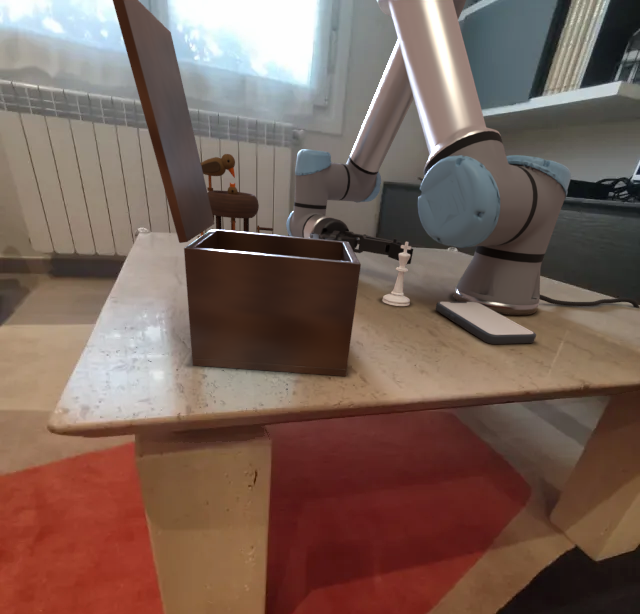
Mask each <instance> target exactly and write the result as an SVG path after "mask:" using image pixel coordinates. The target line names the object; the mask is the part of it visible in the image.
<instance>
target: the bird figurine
mask: <svg viewBox="0 0 640 614" xmlns="http://www.w3.org/2000/svg"><path fill="white" fill-rule="evenodd" d="M235 165H236V159H235V157H234V156H233V155H232V154H230V153H224V154H223V155H222V156H221V157H219V156H214V157H210V158H207V159H205V160H203V161H201V167H202V171H203V175H204V176H207V178H208V179H207V180H208V187H207V186H206V189H207V193H208V197H209V202H210V206H211V210H212V215H213V219H214V220H215V229H218V230H223V229H222V226H223V225H222V218H229V219H230V221H229V222H230V231H236V223H237V220H236V219H243V223H242V224H243V225H242V226H243V229H242V230H243V232H250V219H253V218H254V217H255V216H256V215H257V214H258V212H259V209H260V206H259V205H260V204H259V199H258V198H257V197H256V195H255V194H253V193H249V192H241V191H238V189H237V187H236V182H234V183H231V182H229V187H228V188H227V190H221V189H220V190H219V189H218V190H215V189H214V188H213V185H212V177H221V176H223V175H224V174H225V173H226V170H227V171H228V172H229V173H230V174H231V176H232V177H233V178H236V174H235V173H236V172H235ZM211 229H214V228H213V227H212V228H211ZM256 230H257V231H256V233H261V232H260V231H268V232H273V231H274V228H273V227H265V226H264V227H262V226H260V225H257V226H256ZM204 234H205V233H204V231H203V232H202V233H200V235H197V236H196V237H197V238H196V240H197V239H198V238H200V237H201V236H202V235H204Z"/></svg>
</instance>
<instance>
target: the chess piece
mask: <svg viewBox="0 0 640 614" xmlns="http://www.w3.org/2000/svg"><path fill="white" fill-rule="evenodd" d="M401 248H403V249H404V252H402V253H399V261H398V263H399V266H396V268H395V270H396V271H398V274H397V277H396V280H395V284H394V287H393V290H392V291H390V293H387V294H385V295H383V297H382V299H381V302H382V303H384V304H387V305H390V306H393V307H395V306H396V307H408V306H410V305H411V304H410V302H411V300H410V298H409V297H407V296H406V295H405V293H404V277H405V273H406V272H409V268H407V267H406V266H407V265H408V264H407V262H408V260H409V258H410V256H411V255H410V254H408V253H407V249H409V250H411V248H412V246H411V245H409V241H405V242H404V244H402V245H401Z"/></svg>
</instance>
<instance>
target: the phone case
mask: <svg viewBox="0 0 640 614" xmlns="http://www.w3.org/2000/svg"><path fill="white" fill-rule="evenodd" d="M435 311H437V312H438V313H440V314H441V315H442V316H444V317H446V318H447V319H449V320H451V321H452V322H454V323H455V324H457V325H458V326H459V327H461V328H462V329H464V330H466V331H467V332H469V333H471V334H472V335H473V336H475V337H476V338H478V339H480V340H481V341H483V342H485V343H486V344H490V345H513V344H515V345H517V344H518V345H520V344H521V345H522V344H533V343H534V342H535V340H536V337H537V334H536V332H534V331H532V330H530V329H529V328H527V327H525V326H523V325H522V324H519V323H517V322H515V321H514V320H512V319H510V318H508V317H507V316H505V315H503V314H500V313H497V312H495V311H493V310H491V309H489V308H488V307H486V306H484V305H482V304H480V303H477V302H458V301H437V303H436V305H435Z"/></svg>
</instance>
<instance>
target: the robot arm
mask: <svg viewBox="0 0 640 614" xmlns="http://www.w3.org/2000/svg"><path fill="white" fill-rule="evenodd" d="M376 2H377V5H378V7H379V10H380V11H381V12H382V13H383V14H384V15H386V16H387V17H391V18H392V22H393V25H394V26H393V27H394V29H395V33H396V36H397V40H396V42H395V45H394V47H393V50H392V53H391V55H390V57H389V60H388V62H387V65H386V66H385V70H384V71H383V74H382V77H381V79H380V81H379V84H378V87H377V89H376V92H375V94H374V96H373V98H372V101H371V104H370V106H369V109H368V111H367V113H366V115H365V118H364V120H363V123H362V125H361V127H360V130H359V133H358V135H357V138H356V140H355V142H354V145H353V147H352V149H351V153H350V154H349V156H348V159H347V161H346V163H340V162H339V163H338V162H332V155H331V153H330V152H329V151H324V150H316V149H306V148H303V149H300V150H299V151H298V152H297V154H296V155H297V156H296V161H295V170H294V175H295V179H294V202H293V210H292V211H291V212H290V214H289V215H288V217H287V219H286V224H285V226H286V231H287V234H288V236H292V237H303V238H313V239H324V240H334V241H345V242H349V244H350V246H351V248H352V249H353V251H354V253H355V254H361V253H363V252H365V253H371V254H377V255H383V256H387V257H388V258H389V259H393V260H395V261H398V262H399V253H402V252H404V249H403V248H401V245H403V242H401V241H400V240H399V241H398V238H393V240H390V239H386V238H382V237H381V238H380V237H377V236H376V237H375V236H371V235H367V234H360V233H354V231H350V229H349V227H348V225H347V224H346V223H345V222H344V221H343V220H341V219H337V218H334V217H332V216H330V215H326V214H327V206H328V201H337V202H339V201H342V202H353V203H368V202H372V201H374V200H375V199H376V198H377V197H378V196H379V193H380V191H381V185H382V177H381V173H380V169H381V167H382V165H383V163H384V161H385V158H386V156H387V154H388V152H389V150H390V149H391V146H392V144H393V141H394V140H395V137H396V136H397V134H398V132H399V130H400V128H401V126H402V124H403V122H404V119H405V118H406V115H407V113H408V111H409V108H410V107H411V105H412V103H413V101H414V103H415V108H416V111H417V114H418V118H419V122H420V126H421V130H422V133H423V138H424V141H425V145H426V148H427V151H428V155H429V156H428V159H427V161H426V163H425V165H424V167H423V179H422V182H421V183H420V186H419V191H421V193H420V195H419V196H418V197H417V212H418V217H419V220H420V223H421V226H422V228H423V229H424V230H425V233H426V234H427V235H428V236H429V237H430V238H431V239H432V240H433V241H435V242H437V243H439V244H441V245H442V246H448V247H454V248H460V249H466V248H472V247H475V251H474V253H473V254H474V255H473V256H472V259H471V260H470V262H469V264H468V266H467V267H466V269H465V270H464V272H463V274H462V276H461V277H460V279H459V280H458V282H457V284H456V286H455V289H454V292H453V299H454V300H455V301H456V302H477V303H480V304H482V305H484V306H486V307H488V308H489V309H491V310H493V311H495V312H497V313H499V314H501V315H507V316H508V315H510V316H528V315H533V314H535V313H536V312H537V309H538V307H539V304H540V300H541V301H543V302H546V303H548V304H552V305H557V306H566V307H595V306H599V305H602V304H616V303H629V304H631V305H632V306H633V308H636V309H639V308H640V305H639V303H638V301H637V300H635V299H634V298H630V297H616V298H604V299H603V298H602V299H597V300H595V301H567V300H560V299H555V298H551V297H548V296H546V295H543V294H540V293H541V267H542V263H543V261H544V258H545V254H546V252H547V250H548V247H549V244H550V242H551V238H552V235H553V233H554V230H555V228H556V224H557V221H558V219H559V216H560V213H561V210H562V207H563V204H564V202H565V200H566V198H567V196H568V193H569V192H568V189H569V186H570V183H571V178H572V173H571V170H570V168H568V166H566V165H564V164H563V163H561V162H557V161H555V160H552V159H545V158H542V157H536V156H531V155H523V154H522V155H521V154H512V155H511V154H510V155H507V154H506V151H505V146H504V143H503V139H502V135H501V134H500V131H498V130H497V129H494V128H489V127H487V125H486V121H485V118H484V117H485V116H484V114H483V110H482V106H481V102H480V99H479V95H478V91H477V87H476V83H475V79H474V75H473V72H472V68H471V64H470V61H469V56H468V53H467V49H466V46H465V41H464V38H463V34H462V31H461V25H460V23H459V19H460V17H461V14H462V12H463V10H464V7H465V4H466V2H467V0H376ZM357 246H358V248H357ZM407 253H408V254H410V255H411V256H410V258H409V260H408V262H407V264H406V265H411V264H412V259H413V254H414V248H412V247H411V250H409V249H407Z"/></svg>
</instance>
